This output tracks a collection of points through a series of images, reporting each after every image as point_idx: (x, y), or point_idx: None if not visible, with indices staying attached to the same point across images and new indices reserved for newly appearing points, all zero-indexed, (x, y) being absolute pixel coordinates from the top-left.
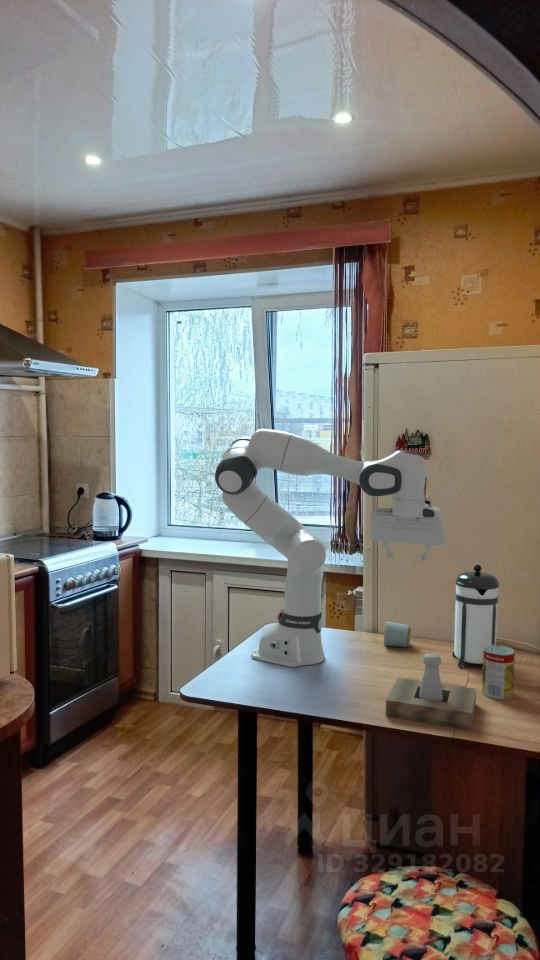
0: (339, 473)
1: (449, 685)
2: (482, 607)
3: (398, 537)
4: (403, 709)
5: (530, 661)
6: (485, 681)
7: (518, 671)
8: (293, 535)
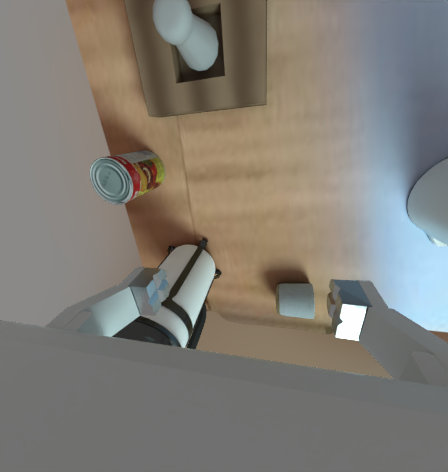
0: None
1: (183, 110)
2: None
3: (309, 432)
4: None
5: None
6: (149, 158)
7: (149, 249)
8: None
